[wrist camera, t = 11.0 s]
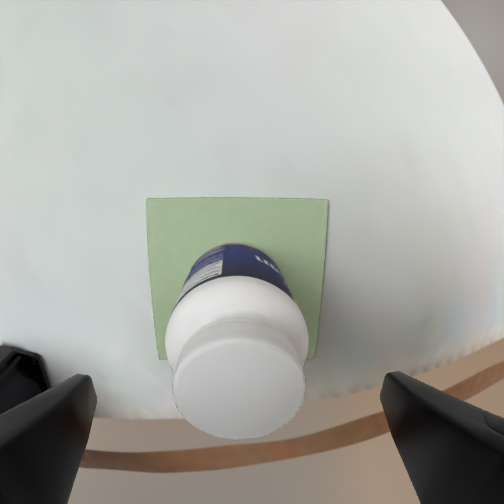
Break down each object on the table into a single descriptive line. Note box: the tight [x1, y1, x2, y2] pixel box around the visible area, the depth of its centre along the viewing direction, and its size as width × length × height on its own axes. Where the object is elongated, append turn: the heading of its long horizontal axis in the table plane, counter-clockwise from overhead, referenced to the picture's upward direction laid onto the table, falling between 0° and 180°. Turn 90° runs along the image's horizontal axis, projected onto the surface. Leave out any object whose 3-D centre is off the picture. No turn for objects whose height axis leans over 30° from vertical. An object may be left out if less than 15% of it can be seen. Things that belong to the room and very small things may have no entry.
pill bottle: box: [165, 242, 309, 440], centre depth 13 cm, size 5×5×10 cm
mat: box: [146, 197, 328, 360], centre depth 18 cm, size 10×10×1 cm
